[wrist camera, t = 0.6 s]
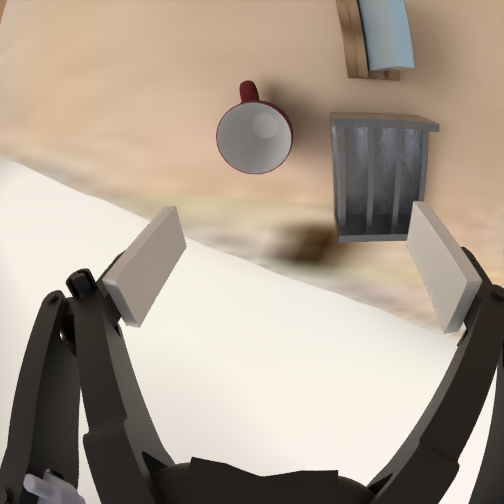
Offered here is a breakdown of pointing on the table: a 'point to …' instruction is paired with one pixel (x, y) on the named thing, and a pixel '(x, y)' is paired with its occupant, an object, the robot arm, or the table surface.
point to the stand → (357, 43)
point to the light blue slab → (386, 35)
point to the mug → (254, 134)
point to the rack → (377, 173)
